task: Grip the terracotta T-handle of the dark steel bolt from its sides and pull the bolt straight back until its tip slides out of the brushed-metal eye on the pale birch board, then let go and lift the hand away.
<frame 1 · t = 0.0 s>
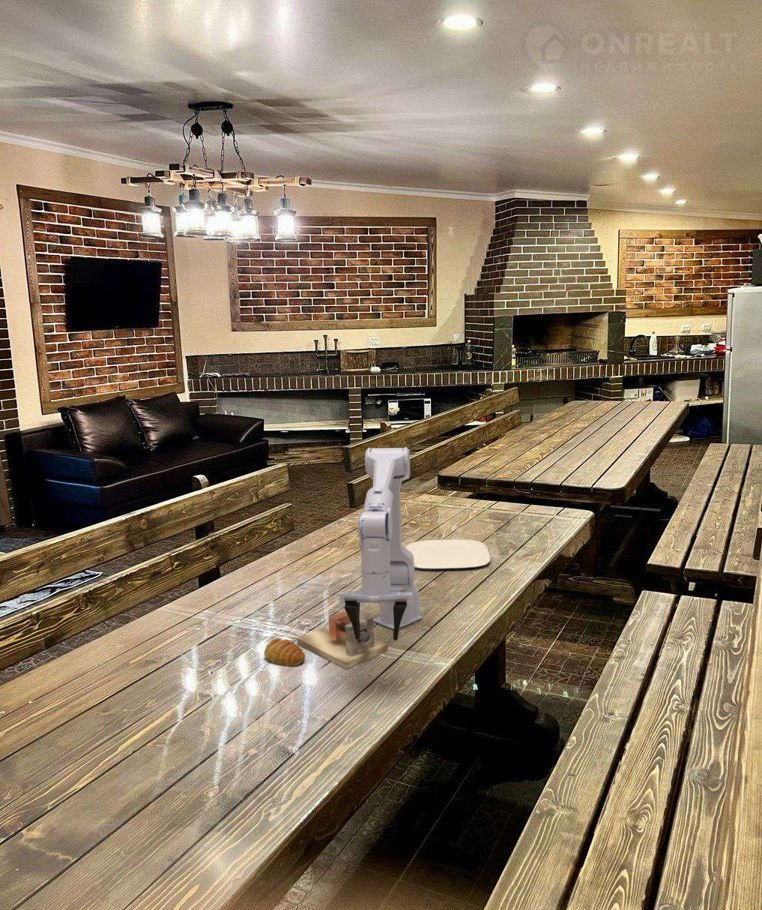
hand: (376, 638, 153), 11 cm above the table, tool pointing down, fingers open, 7 cm apart
plate: (446, 558, 230), on the table
latch board: (355, 653, 170), on the table
bolt: (351, 630, 169), point 5 cm above the table, slide at 0.0 cm
pastry: (285, 659, 169), on the table
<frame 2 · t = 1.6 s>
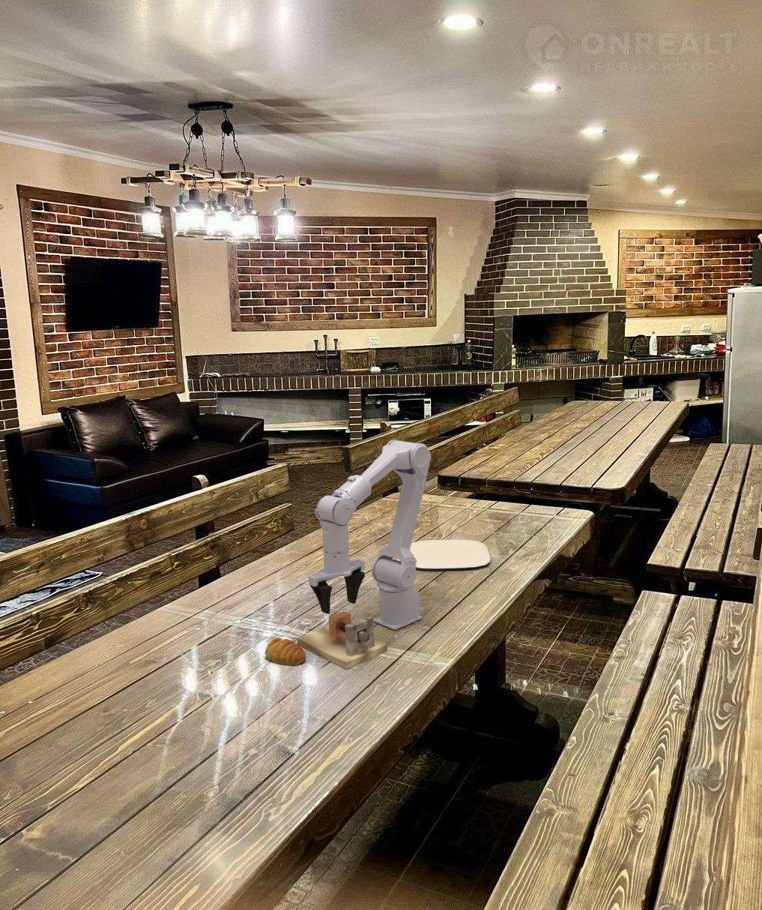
hand: (339, 607, 171), 10 cm above the table, tool pointing down, fingers open, 7 cm apart
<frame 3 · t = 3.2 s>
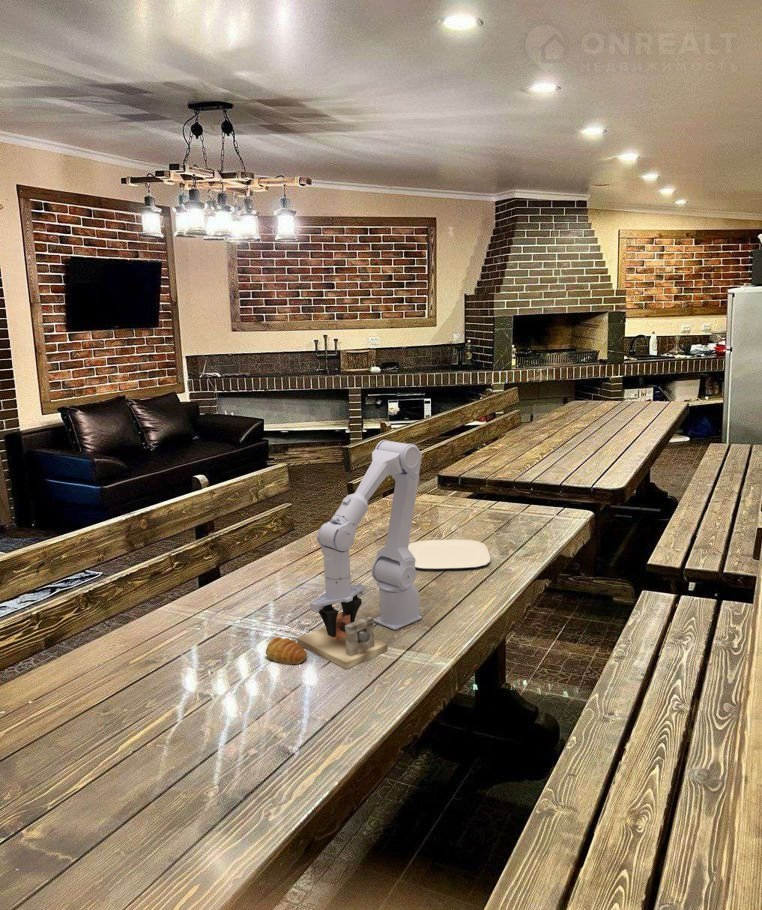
hand: (340, 632, 173), 4 cm above the table, tool pointing down, fingers closed on bolt, 4 cm apart
bolt: (351, 630, 169), point 5 cm above the table, slide at 0.0 cm, touching gripper
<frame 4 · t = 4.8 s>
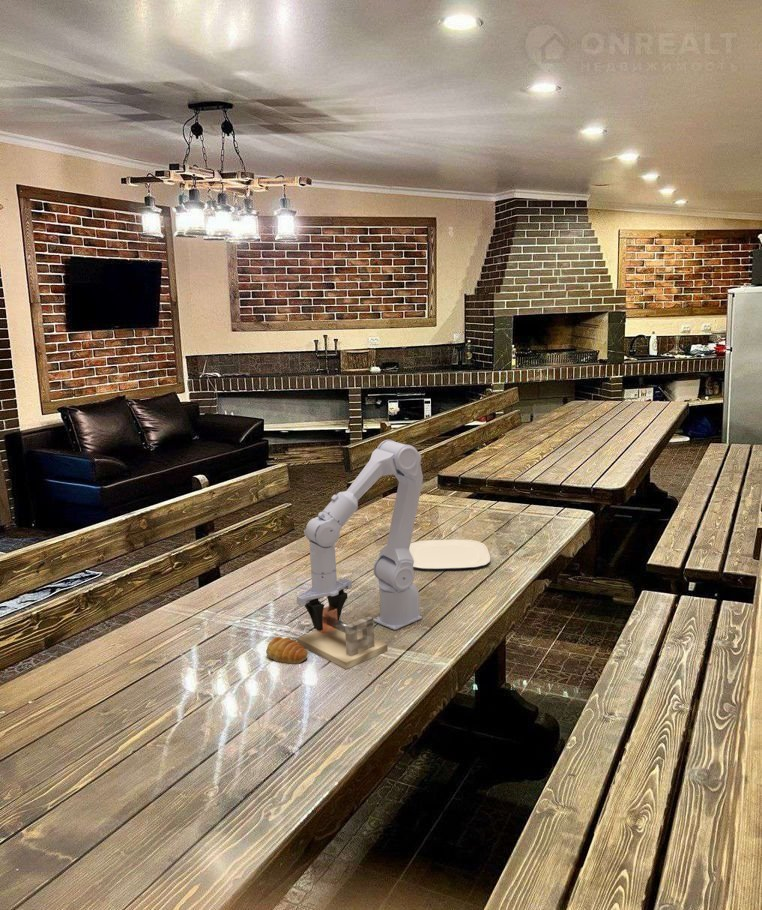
hand: (326, 625, 176), 4 cm above the table, tool pointing down, fingers closed on bolt, 4 cm apart
bolt: (337, 624, 173), point 5 cm above the table, slide at 4.8 cm, touching gripper
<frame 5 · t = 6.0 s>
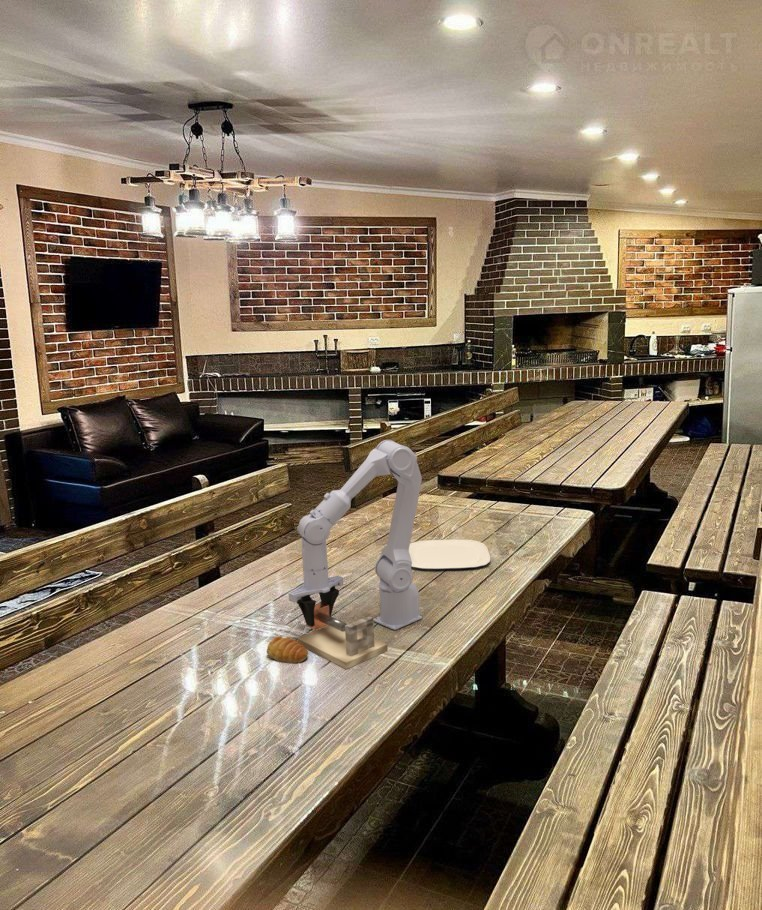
hand: (318, 622, 178), 4 cm above the table, tool pointing down, fingers closed on bolt, 4 cm apart
bolt: (329, 620, 175), point 5 cm above the table, slide at 7.7 cm, touching gripper
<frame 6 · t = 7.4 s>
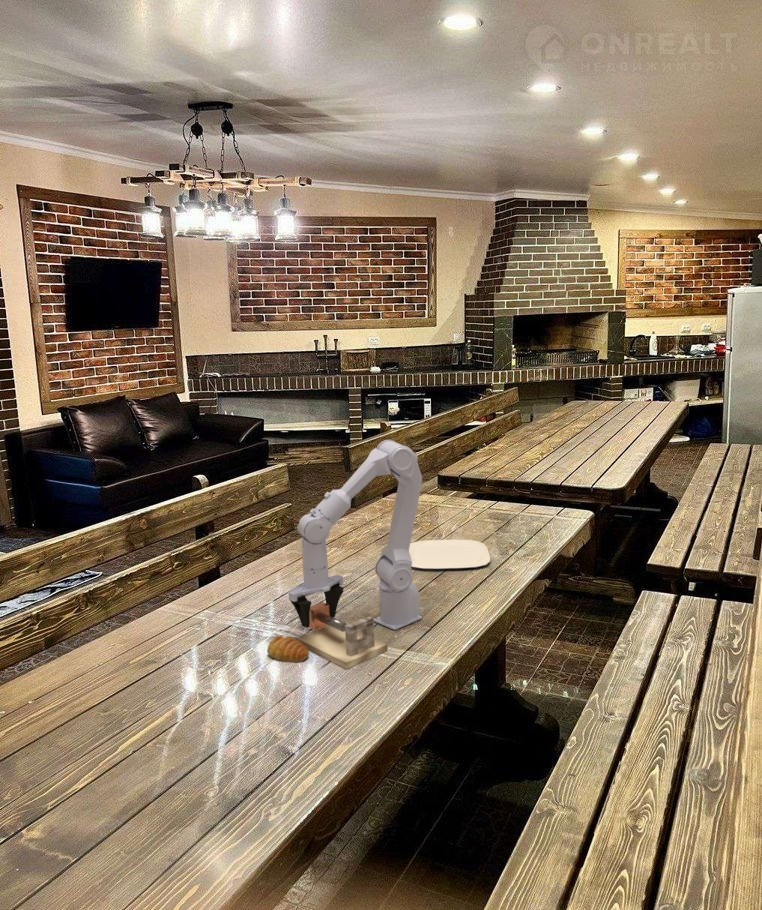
hand: (318, 621, 178), 4 cm above the table, tool pointing down, fingers open, 7 cm apart
bolt: (329, 620, 175), point 5 cm above the table, slide at 7.7 cm
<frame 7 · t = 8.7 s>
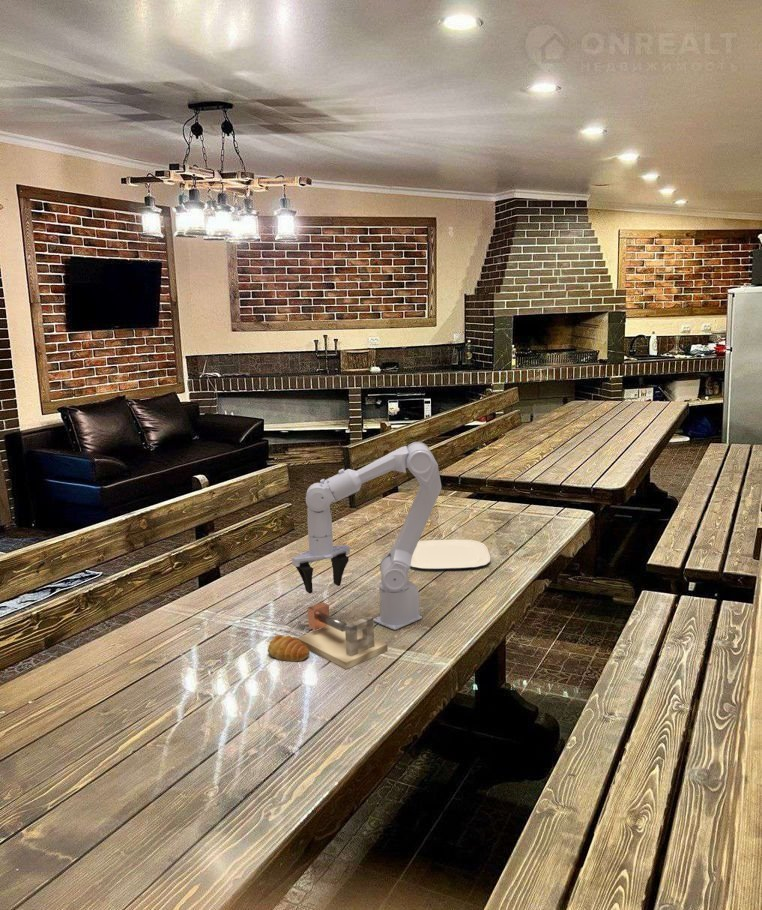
hand: (323, 588, 183), 9 cm above the table, tool pointing down, fingers open, 7 cm apart
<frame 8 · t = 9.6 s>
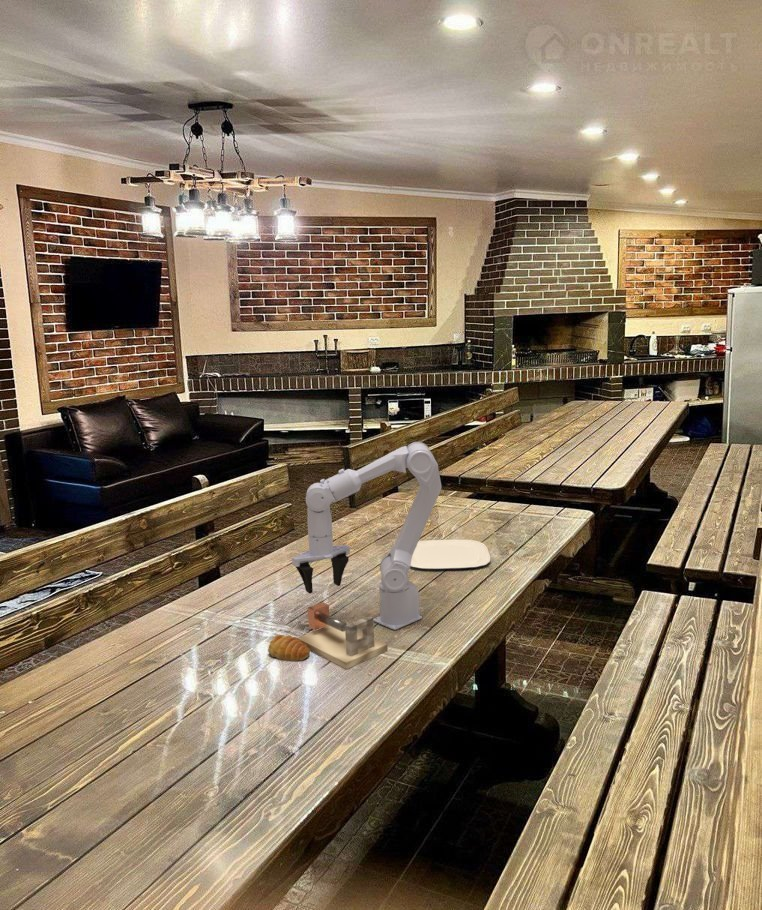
hand: (323, 588, 183), 9 cm above the table, tool pointing down, fingers open, 7 cm apart
at the end: bolt slide at 7.7 cm; the gripper is holding nothing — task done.
